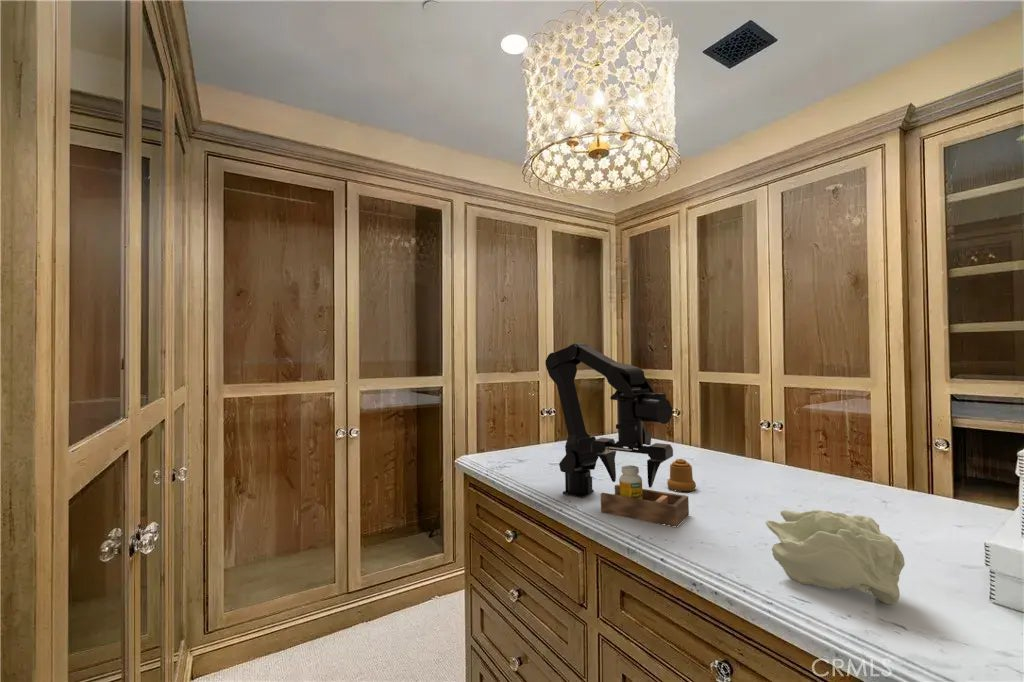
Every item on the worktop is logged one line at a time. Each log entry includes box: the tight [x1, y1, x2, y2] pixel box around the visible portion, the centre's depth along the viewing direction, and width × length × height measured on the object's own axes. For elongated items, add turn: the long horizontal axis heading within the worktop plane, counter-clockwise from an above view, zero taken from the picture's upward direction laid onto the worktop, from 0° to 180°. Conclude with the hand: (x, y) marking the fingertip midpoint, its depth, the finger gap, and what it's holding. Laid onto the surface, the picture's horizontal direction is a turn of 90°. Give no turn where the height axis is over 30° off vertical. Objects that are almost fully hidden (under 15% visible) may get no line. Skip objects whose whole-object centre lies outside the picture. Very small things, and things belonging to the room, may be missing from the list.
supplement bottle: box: [618, 465, 643, 499], centre depth 115 cm, size 5×5×10 cm
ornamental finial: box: [666, 458, 697, 492], centre depth 133 cm, size 8×8×8 cm
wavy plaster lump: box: [765, 509, 906, 605], centre depth 77 cm, size 18×13×16 cm
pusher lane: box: [600, 484, 690, 528], centre depth 113 cm, size 18×9×4 cm, turn 53°
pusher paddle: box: [655, 495, 668, 504], centre depth 111 cm, size 1×6×3 cm, turn 144°
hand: (631, 484), depth 115 cm, fingers open, 9 cm apart
